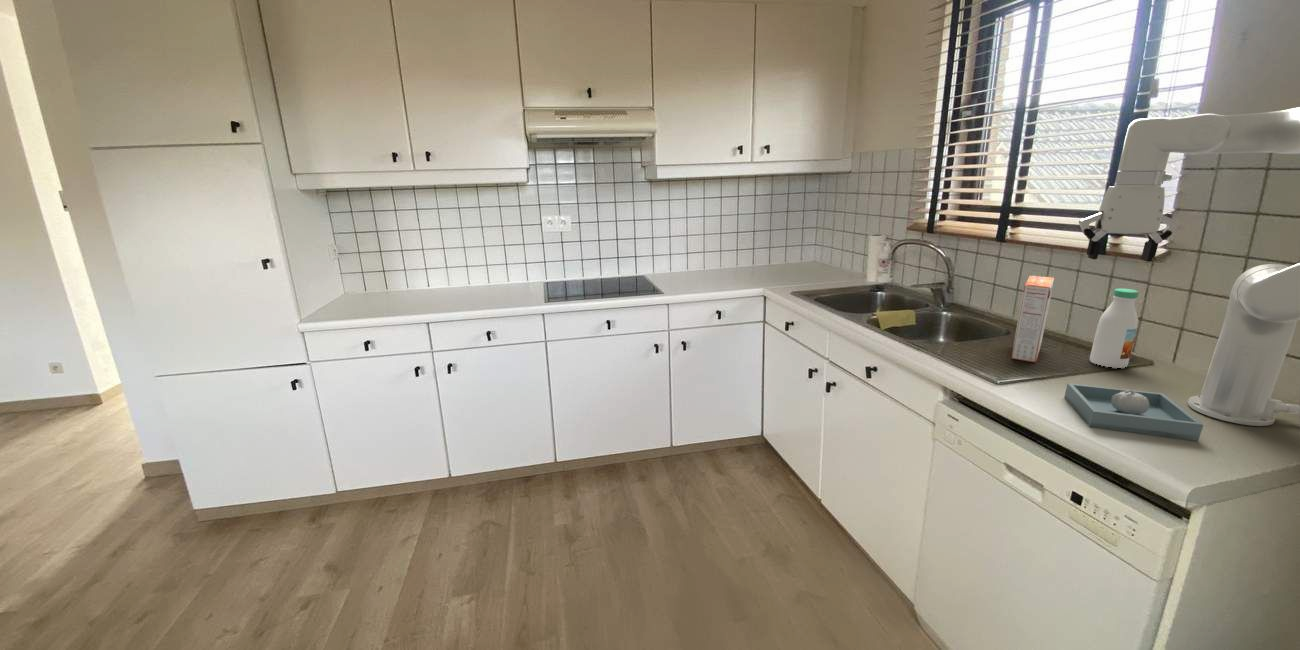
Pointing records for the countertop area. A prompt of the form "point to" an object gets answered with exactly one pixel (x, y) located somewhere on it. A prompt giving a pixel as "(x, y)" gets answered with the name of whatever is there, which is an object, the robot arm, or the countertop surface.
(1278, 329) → the robot arm
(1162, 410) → the tray
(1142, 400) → the garlic
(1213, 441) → the countertop surface
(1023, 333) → the cracker box
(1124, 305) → the milk bottle
